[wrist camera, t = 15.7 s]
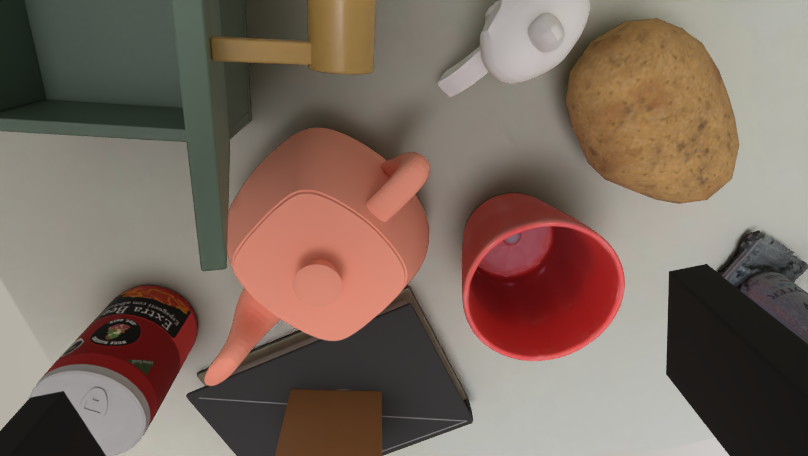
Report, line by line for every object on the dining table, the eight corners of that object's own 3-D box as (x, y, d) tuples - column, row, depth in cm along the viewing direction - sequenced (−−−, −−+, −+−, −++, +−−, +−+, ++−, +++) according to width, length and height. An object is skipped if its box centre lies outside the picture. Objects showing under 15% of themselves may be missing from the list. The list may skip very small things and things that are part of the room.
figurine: (552, -74, 32) (631, -111, 22) (594, -11, 33) (686, -18, 23) (416, 59, 35) (430, 80, 25) (461, 111, 36) (491, 150, 26)
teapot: (185, 243, 40) (111, 335, 29) (350, 60, 34) (337, 86, 23) (311, 334, 44) (288, 444, 33) (475, 184, 39) (513, 255, 28)
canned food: (202, 289, 42) (146, 379, 32) (198, 362, 45) (146, 465, 35) (108, 275, 41) (19, 362, 31) (111, 351, 44) (31, 452, 34)
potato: (621, 209, 40) (674, 254, 33) (515, 85, 36) (549, 105, 28) (725, 127, 38) (807, 155, 30) (626, -19, 33) (694, -26, 26)
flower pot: (533, 146, 38) (580, 188, 29) (593, 248, 42) (651, 313, 33) (420, 219, 40) (431, 279, 31) (487, 309, 44) (514, 386, 35)
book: (278, 472, 51) (272, 498, 48) (196, 372, 45) (184, 396, 43) (469, 400, 48) (475, 424, 46) (409, 284, 42) (410, 304, 40)
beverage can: (753, 324, 46) (870, 424, 35) (682, 308, 45) (779, 406, 34) (811, 241, 42) (960, 323, 31) (734, 221, 41) (862, 298, 30)
